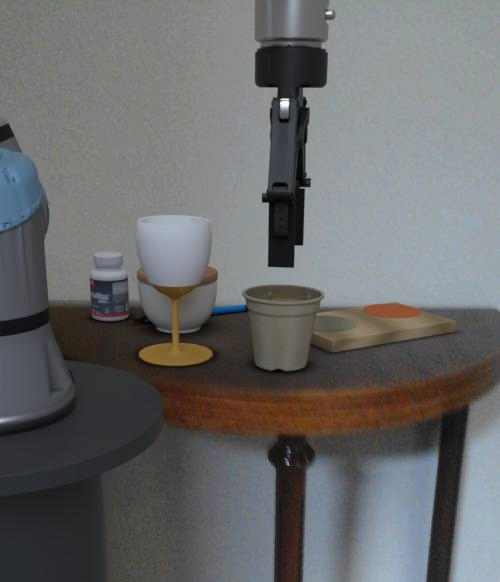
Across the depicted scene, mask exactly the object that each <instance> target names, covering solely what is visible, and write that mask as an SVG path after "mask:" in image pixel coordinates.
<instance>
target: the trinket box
mask: <svg viewBox="0 0 500 582" xmlns="http://www.w3.org/2000/svg"><path fill="white" fill-rule="evenodd" d="M218 278H219V272H218V270H217V269H216V268H214V267H212V266H210V265H208V268H207V271H206V273H205V275H204V277H203V279H202V281H201V282H200V283H199V284H198V285H197V286H196V287H195V288H194V289H193V290H192V291H191V292H190V293H188V294H185V295H183V296H182V297H180V298H179V300H178V310H179V334H189V333H194V332H197V331H199V330H201V328H202V326H203V325H204V324H205V323H206V322H207V320H209V318H210V317H211V316H212V315H211V313H212V311H213V309H214V308H215V304H216V300H217V295H218ZM136 279H137V286H138V287H137V288H138V297H139V302H140V306H141V309H142V311H143V313H144V316H147V318H148V319H149V320H150V321H151V322H150V323H152V325H154V326H155V329H156V330H158V331H159V332H161V333H166V334H167V333H168V334H172V302H171V299H170V298H169V297H168V296H166V295H164V294H162V293H160V292H158V291H157V290H156V289H155V288H154V287H153V286H152V285H151V284H150V283H148V281H147V279H146V277H145V275H144V273H143V271H142V269H141V267H140V268H138V269H137V271H136Z"/></svg>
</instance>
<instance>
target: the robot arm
mask: <svg viewBox="0 0 500 582" xmlns="http://www.w3.org/2000/svg"><path fill="white" fill-rule="evenodd" d="M329 6H330V0H254V41H255V42H256V43H259V44H260V45H259V48H257V49H256V51H255V52H254V83H255V85H256V87H257V88H262V89H263V88H264V89H265V88H268V89H269V88H271V89H273V88H274V89H275V88H276V89H277V92H276V97H275V96H273V97H272V100H271V101H270V102H271V103H270V105H271V106H270V108H269V124H270V130H269V141H270V143H269V144H270V145H269V162H268V177H267V188H266V192H261V203H263V204H268V224H267V225H268V228H267V230H268V231H267V233H268V237H267V238H268V239H267V241H268V243H267V268H289V269H294V268H295V249H296V247H297V246H299V247H300V246H301V247H303V246H304V237H305V236H304V235H305V234H304V232H305V204H306V202H305V201H306V188H311V186H312V185H311V184H312V178H311V177H308V176H307V175H308V173H307V167H306V166H307V160H306V159H307V156H306V155H307V152H306V151H307V149H306V148H307V147H306V145H307V143H308V136H309V127H308V126H309V124H310V117H311V111H310V107H309V106H307V105H308V100H307V97H306V96H304V89H322V88H325V86H326V85H327V83H328V67H329V64H328V63H329V52H327V49H326V48H322V47H323V46H322V45H323V44H325V43H326V42H328V41H329V24H328V22H327V21H333V20H335V18H336V16H337V15H336V11H335V9H333V8H329ZM49 204H50V203H49V199H48V196H47V192H46V190H45V188H44V186H43V184H42V181H41V180H40V179H39V172H38V168H37V165H36V163H35V162H34V160H33V159H31V158H30V157H29V156H28V155H27V154H25V153H24V152H23V151H22V149H21V146H20V144H19V142H18V140H17V138H16V135H15V133H14V131H13V128H12V127H11V125H10V123H9V121H8V119H7V118H4V117H2V116H0V436H7V435H14V434H19V433H24V432H29V431H33V430H36V429H40V428H43V427H46V426H49V425H51V424H54V423H56V422H58V421H60V420H62V419H63V418H65V417H66V416H68V415H69V414H70V413H71V412H72V411H73V410H74V408H75V405H76V401H75V387H74V383H75V384H76V381H75V379H74V376H73V374H72V372H71V371H70V370H69V369H68V368H67V366H66V363H65V361H64V360H65V359H64V356H63V354H62V352H61V349H60V346H59V345H58V342H57V340H56V338H55V334H54V332H53V330H52V326H51V315H50V302H49V300H50V299H49V288H48V287H49V286H48V277H47V264H46V262H47V261H46V249H45V240H46V236H47V233H48V230H49V226H50V216H51V215H50V208H49ZM295 246H296V247H295ZM76 385H77V384H76Z"/></svg>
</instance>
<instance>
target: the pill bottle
mask: <svg viewBox="0 0 500 582" xmlns="http://www.w3.org/2000/svg"><path fill="white" fill-rule="evenodd" d="M92 257H93V261H92V262H93V265H94V266H95V268H93V269H92V270H91V271H90V272H89V290H90V291H89V292H90V293H89V294H90V309H91V310H90V311H91V318H92V319H94V320H96V321H101V322H119V321H123V320H126V319H128V318H129V316H130V295H129V274H128V271H126V269H124V268H122V265H123V264H124V257H123V252H119V251H98V252H94V253H93V255H92Z"/></svg>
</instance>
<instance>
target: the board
mask: <svg viewBox="0 0 500 582" xmlns="http://www.w3.org/2000/svg"><path fill="white" fill-rule="evenodd" d="M385 304H399V305H404V304H403V303H400V302H396V301H394V302H393V301H392V302H385ZM366 306H367V305H365V306H358V307H350V308H343V309H337V310H329V311H322V312H317V313H316V318H315V323H314V328H313V333H312V338H311V344H310V345H313V346H316V347H318V348H320V349H322V350H325V351H327V352H330V353H332V354H333V353H339V352H344V351H351V350H357V349H363V348H368V347H374V346H375V347H376V346H379V345H385V344H386V345H387V344H392V343H398V342H404V341H409V340H415V339H421V338H426V337H433V336H439V335H444V334H451V333H455V332H456V329H457V321H456V320H454V319H451V318H447V317H445V316H441V315H438V314H435V313H431V312H428V311H426V310H422V309H419V308H417V309H418V310H419V311H420V314H419V315H417V316H414V317H408V318H387V317H379V316H374V315H370V314H368V313H366V312H364V311H363V308H364V307H366Z"/></svg>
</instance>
